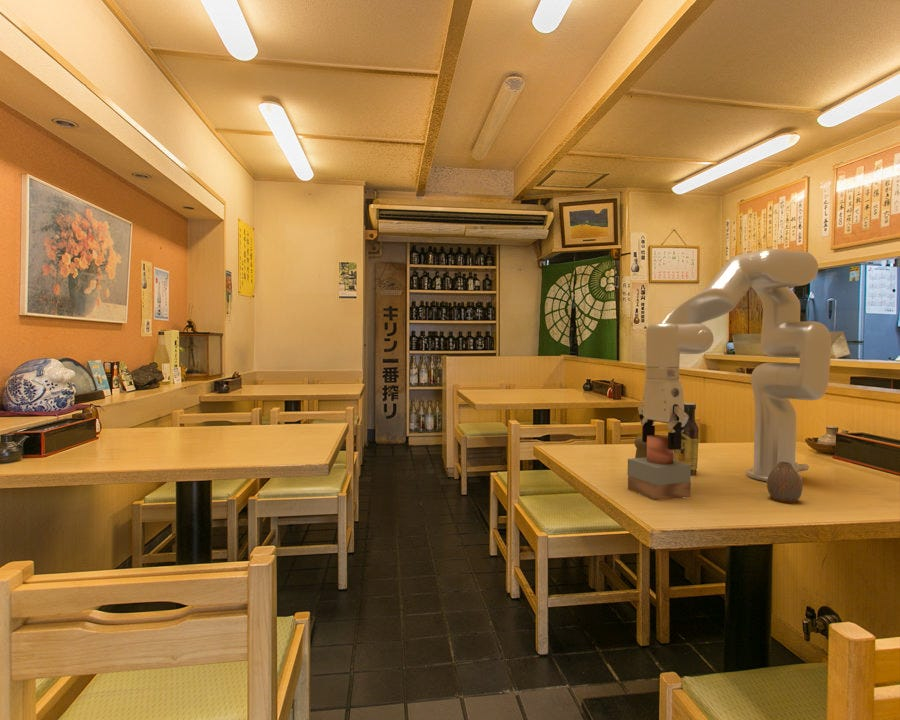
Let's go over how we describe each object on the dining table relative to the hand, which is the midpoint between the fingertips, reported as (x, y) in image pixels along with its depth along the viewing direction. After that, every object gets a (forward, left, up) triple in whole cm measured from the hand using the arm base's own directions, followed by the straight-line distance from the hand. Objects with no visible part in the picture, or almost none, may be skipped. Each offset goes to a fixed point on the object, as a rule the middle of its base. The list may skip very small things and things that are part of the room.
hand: (660, 445), depth 121 cm
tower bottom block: (0, 0, -12) cm, 12 cm away
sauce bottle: (-20, -16, -12) cm, 28 cm away
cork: (-6, -15, -12) cm, 20 cm away
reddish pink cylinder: (0, 0, -4) cm, 4 cm away
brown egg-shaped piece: (-25, +11, -12) cm, 30 cm away
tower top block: (0, 0, -8) cm, 8 cm away
